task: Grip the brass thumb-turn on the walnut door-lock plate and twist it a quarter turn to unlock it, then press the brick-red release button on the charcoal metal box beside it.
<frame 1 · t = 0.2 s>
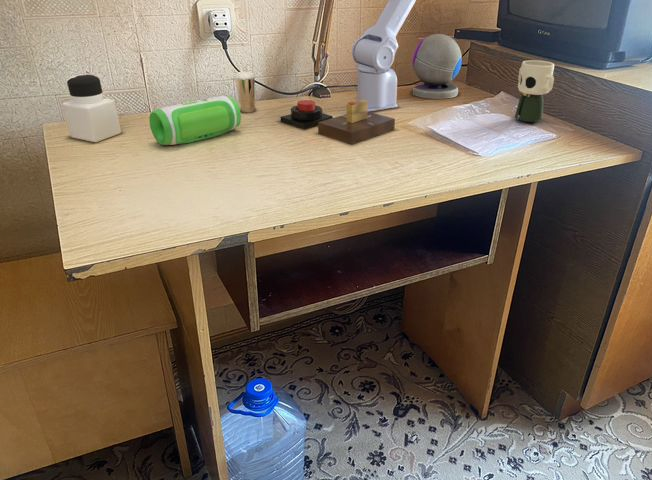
release box: (306, 121, 126), on the table
medicine bottle: (96, 136, 115), on the table
speaker: (199, 138, 115), on the table
character mug: (527, 121, 130), on the table
webcam: (434, 93, 150), on the table
lock plate: (356, 131, 120), on the table
thumb turn: (357, 110, 118), point 5 cm above the table, hinge at 0.0°
milkshake: (248, 111, 133), on the table
release button: (306, 106, 124), point 4 cm above the table, slide at 0.2 cm
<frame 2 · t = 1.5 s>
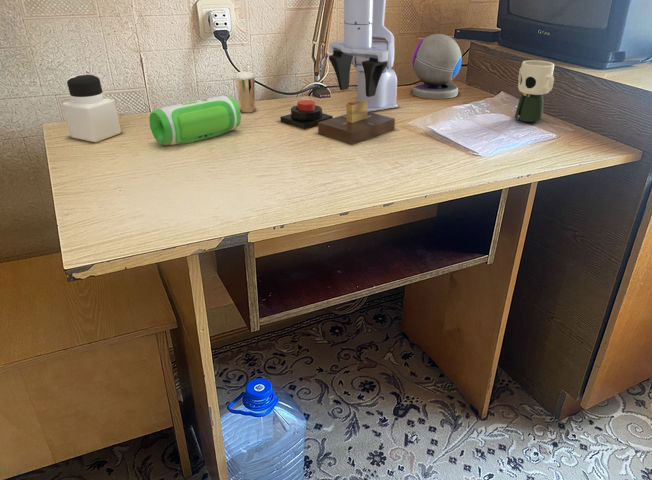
hand: (357, 92, 116), 8 cm above the table, tool pointing down, fingers open, 7 cm apart
nothing on the table moved.
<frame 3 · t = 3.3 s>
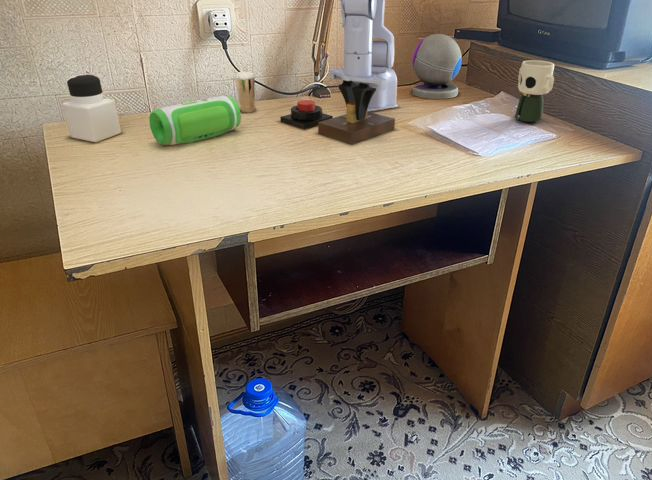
hand: (357, 118, 119), 3 cm above the table, tool pointing down, fingers closed on thumb turn, 2 cm apart
thumb turn: (357, 110, 118), point 5 cm above the table, hinge at 0.0°, touching gripper
everything else where it was.
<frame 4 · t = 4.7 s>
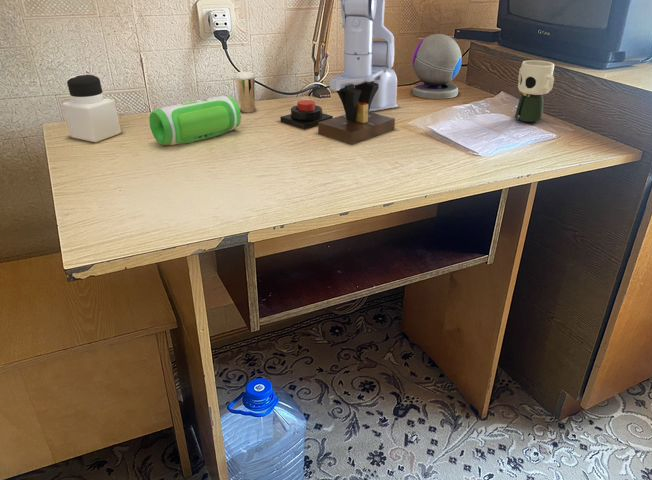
hand: (357, 118, 119), 3 cm above the table, tool pointing down, fingers open, 3 cm apart
thumb turn: (357, 110, 118), point 5 cm above the table, hinge at 89.5°
everything else where it was.
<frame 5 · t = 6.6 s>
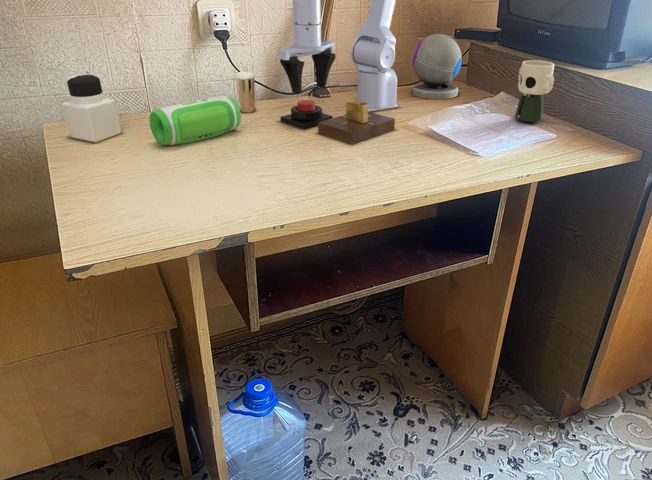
hand: (309, 89, 122), 7 cm above the table, tool pointing down, fingers open, 7 cm apart
nothing on the table moved.
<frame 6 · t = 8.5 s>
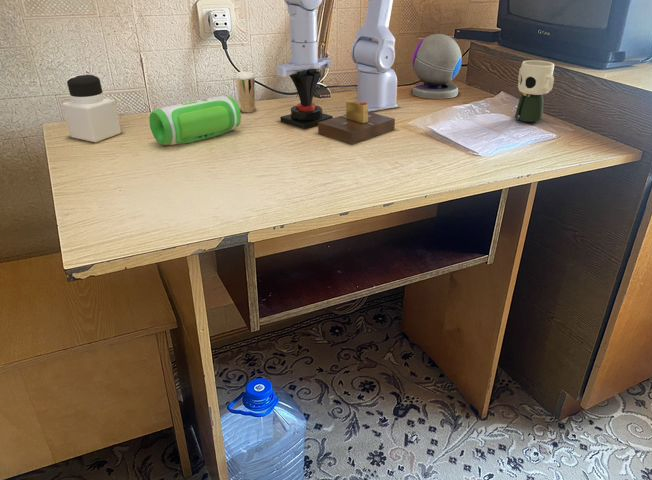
hand: (306, 104, 124), 4 cm above the table, tool pointing down, fingers closed, pressing on release button
release button: (306, 108, 124), point 3 cm above the table, slide at -0.4 cm, touching gripper
everything else where it was.
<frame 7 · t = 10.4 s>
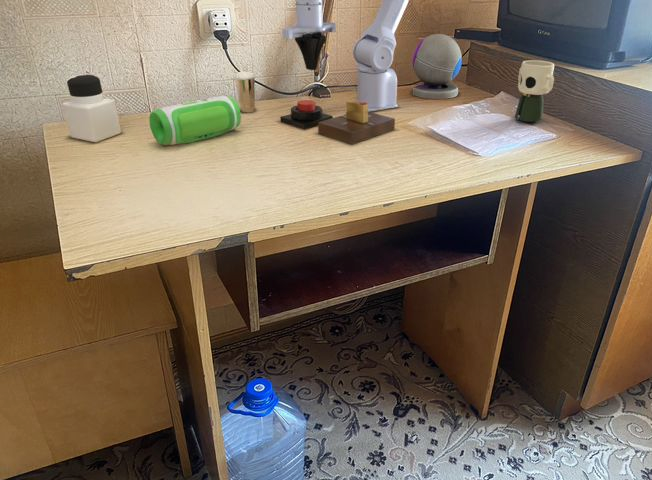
hand: (311, 69, 125), 10 cm above the table, tool pointing down, fingers closed
release button: (306, 106, 124), point 4 cm above the table, slide at 0.2 cm
everything else where it was.
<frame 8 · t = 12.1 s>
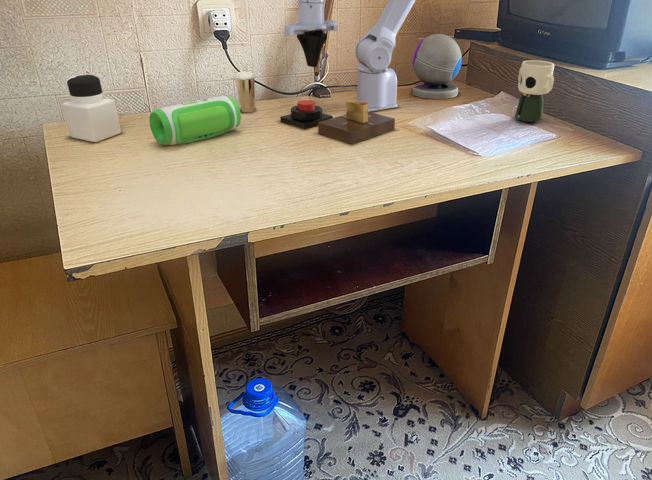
hand: (312, 66, 128), 10 cm above the table, tool pointing down, fingers closed
nothing on the table moved.
at the end: thumb turn at +90° (first picture: +0°); release button pushed in 1.2 cm at the most during the clip, back to 0.2 cm at the end; release button slide at 0.2 cm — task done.
